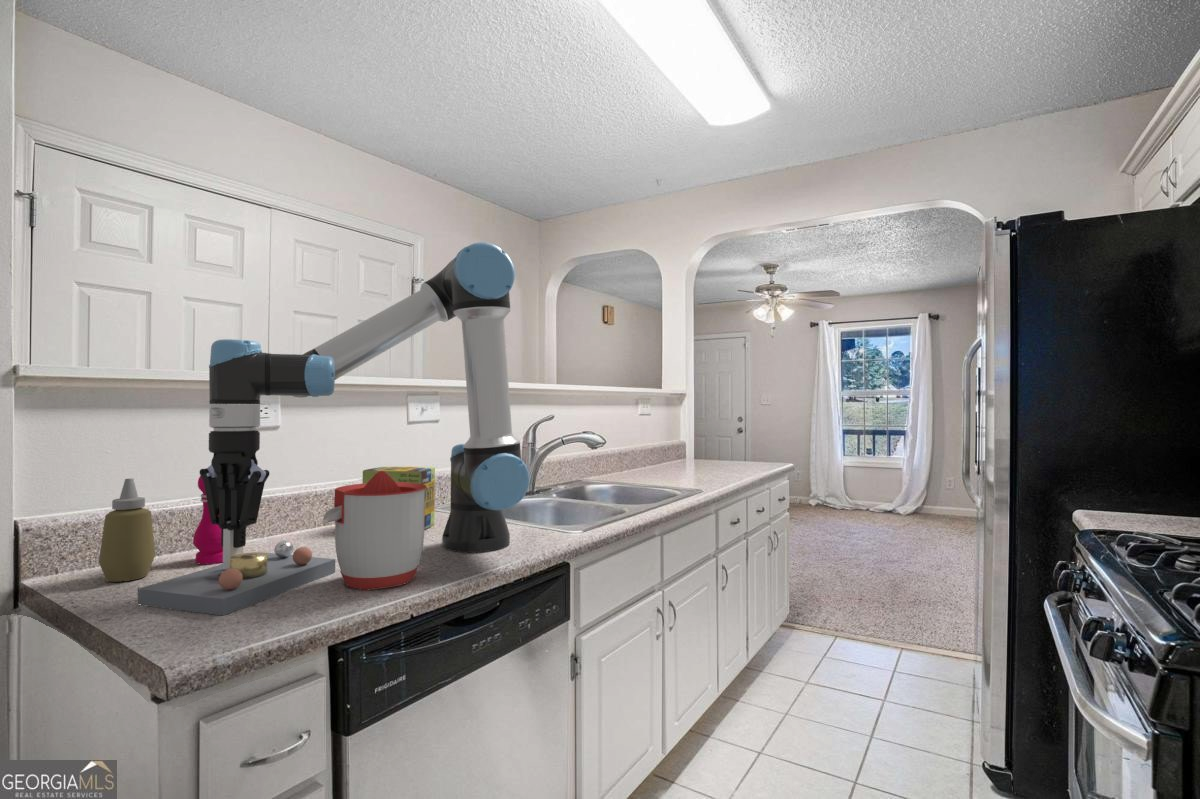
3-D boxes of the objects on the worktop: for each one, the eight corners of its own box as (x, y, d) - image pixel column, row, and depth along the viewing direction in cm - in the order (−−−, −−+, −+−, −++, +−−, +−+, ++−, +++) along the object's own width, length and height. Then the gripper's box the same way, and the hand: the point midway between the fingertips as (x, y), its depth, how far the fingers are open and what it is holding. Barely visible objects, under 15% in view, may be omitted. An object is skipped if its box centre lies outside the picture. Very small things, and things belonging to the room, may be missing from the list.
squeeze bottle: (138, 569, 111) (140, 475, 112) (165, 574, 108) (167, 477, 109) (87, 581, 104) (89, 480, 104) (115, 587, 101) (117, 482, 101)
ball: (297, 556, 113) (297, 539, 113) (284, 560, 110) (284, 543, 110) (283, 554, 114) (283, 538, 114) (270, 559, 111) (270, 542, 111)
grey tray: (335, 572, 111) (335, 559, 111) (223, 615, 88) (223, 599, 88) (262, 565, 115) (262, 552, 115) (137, 604, 92) (137, 588, 92)
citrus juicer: (313, 579, 106) (315, 469, 106) (409, 564, 117) (410, 464, 117) (332, 603, 94) (334, 478, 94) (438, 584, 104) (439, 471, 104)
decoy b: (247, 587, 94) (247, 567, 94) (229, 593, 91) (230, 572, 91) (231, 585, 94) (231, 565, 94) (213, 591, 91) (213, 570, 91)
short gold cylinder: (274, 570, 102) (274, 552, 102) (248, 579, 97) (248, 560, 97) (249, 568, 104) (249, 550, 104) (221, 576, 98) (222, 558, 98)
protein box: (421, 533, 145) (421, 471, 145) (360, 532, 146) (361, 470, 146) (435, 525, 156) (436, 466, 156) (379, 523, 156) (379, 465, 157)
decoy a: (316, 563, 108) (316, 545, 108) (303, 567, 105) (303, 549, 105) (301, 561, 109) (301, 544, 109) (288, 566, 106) (288, 548, 106)
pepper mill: (185, 565, 114) (186, 463, 115) (204, 556, 122) (205, 460, 122) (225, 564, 116) (226, 463, 116) (241, 555, 123) (243, 459, 123)
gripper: (185, 429, 100) (183, 568, 99) (246, 430, 96) (244, 575, 96) (224, 427, 107) (222, 557, 107) (282, 429, 103) (281, 563, 103)
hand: (233, 565), depth 101 cm, fingers closed
